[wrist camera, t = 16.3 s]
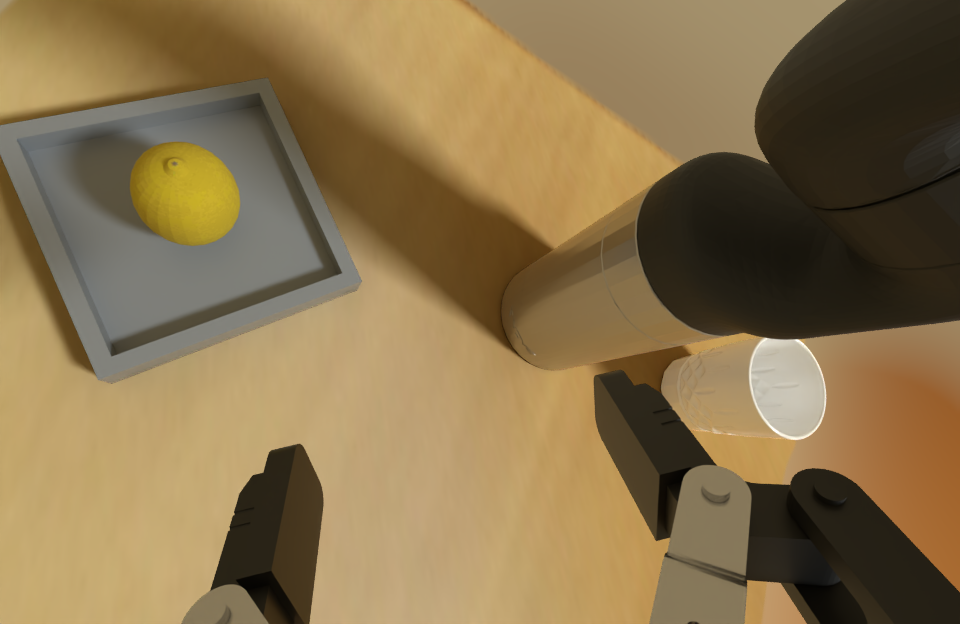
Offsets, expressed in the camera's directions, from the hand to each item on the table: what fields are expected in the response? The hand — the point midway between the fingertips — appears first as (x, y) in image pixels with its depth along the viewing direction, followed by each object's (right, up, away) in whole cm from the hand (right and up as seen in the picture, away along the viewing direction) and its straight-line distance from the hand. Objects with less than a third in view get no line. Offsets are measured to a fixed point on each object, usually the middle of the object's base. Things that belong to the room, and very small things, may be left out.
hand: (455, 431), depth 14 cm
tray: (-18, +9, +20) cm, 29 cm away
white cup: (+20, -4, +33) cm, 39 cm away
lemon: (-18, +9, +20) cm, 28 cm away
